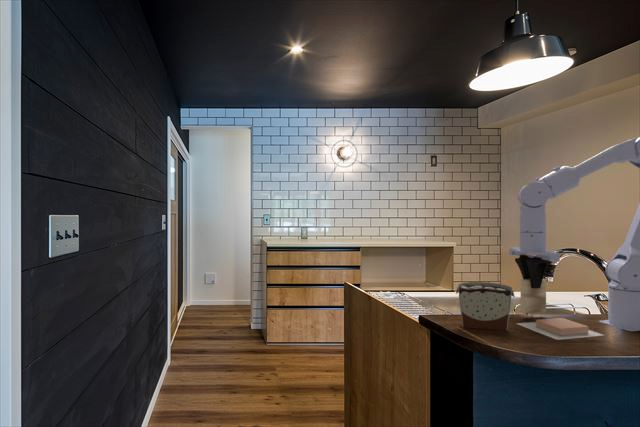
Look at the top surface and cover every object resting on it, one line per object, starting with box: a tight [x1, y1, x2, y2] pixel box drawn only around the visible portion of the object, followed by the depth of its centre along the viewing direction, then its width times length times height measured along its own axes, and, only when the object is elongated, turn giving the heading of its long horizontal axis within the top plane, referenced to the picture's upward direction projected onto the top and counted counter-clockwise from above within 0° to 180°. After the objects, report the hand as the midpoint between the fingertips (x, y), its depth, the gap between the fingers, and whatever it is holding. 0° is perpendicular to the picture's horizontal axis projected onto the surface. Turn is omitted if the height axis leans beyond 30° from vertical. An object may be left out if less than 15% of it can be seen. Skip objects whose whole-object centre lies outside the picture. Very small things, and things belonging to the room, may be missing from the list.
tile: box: [535, 317, 589, 336], centre depth 89 cm, size 7×2×7 cm
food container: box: [455, 281, 516, 331], centre depth 93 cm, size 12×6×10 cm, turn 74°
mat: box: [516, 321, 606, 341], centre depth 90 cm, size 12×12×1 cm
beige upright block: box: [520, 278, 547, 314], centre depth 99 cm, size 6×2×8 cm, turn 104°
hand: (532, 287), depth 99 cm, fingers closed on beige upright block, 2 cm apart
